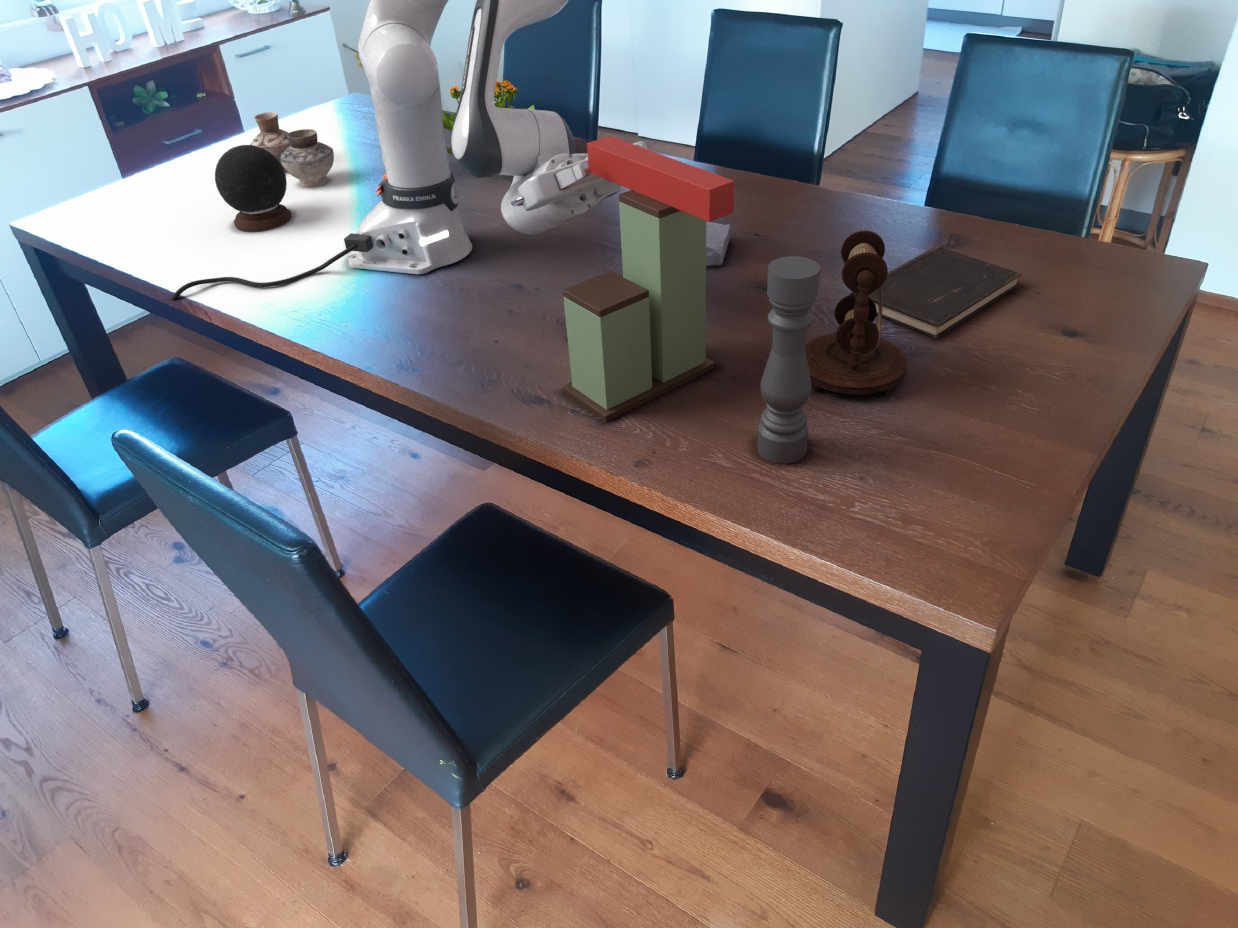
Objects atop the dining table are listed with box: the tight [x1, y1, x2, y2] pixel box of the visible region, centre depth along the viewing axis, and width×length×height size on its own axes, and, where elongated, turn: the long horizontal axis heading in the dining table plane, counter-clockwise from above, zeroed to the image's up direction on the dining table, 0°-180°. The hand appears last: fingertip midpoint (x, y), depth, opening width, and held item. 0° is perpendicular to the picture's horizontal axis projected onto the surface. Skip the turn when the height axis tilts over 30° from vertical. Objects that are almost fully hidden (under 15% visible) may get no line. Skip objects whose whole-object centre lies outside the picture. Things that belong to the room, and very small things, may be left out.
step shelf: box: [562, 189, 716, 423], centre depth 122 cm, size 10×20×26 cm, turn 128°
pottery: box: [250, 111, 335, 188], centre depth 202 cm, size 11×25×12 cm, turn 47°
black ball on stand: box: [214, 144, 293, 233], centre depth 181 cm, size 13×13×15 cm
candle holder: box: [756, 255, 821, 465], centre depth 108 cm, size 6×6×25 cm
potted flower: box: [442, 79, 536, 156], centre depth 198 cm, size 25×24×18 cm
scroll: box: [805, 230, 908, 396], centre depth 122 cm, size 15×15×20 cm
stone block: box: [706, 221, 731, 267], centre depth 162 cm, size 12×5×10 cm
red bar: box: [586, 135, 735, 223], centre depth 116 cm, size 24×4×4 cm, turn 38°
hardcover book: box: [849, 245, 1023, 340], centre depth 145 cm, size 16×23×2 cm
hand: (613, 159), depth 122 cm, fingers open, 8 cm apart
